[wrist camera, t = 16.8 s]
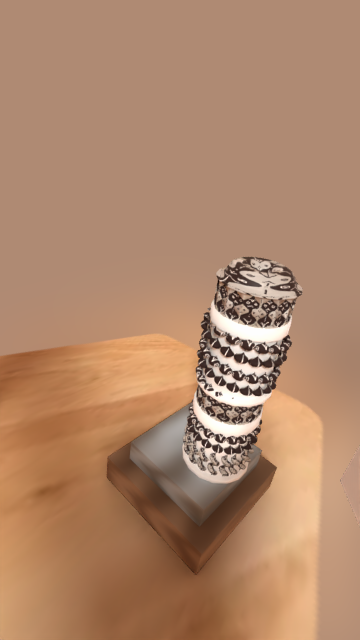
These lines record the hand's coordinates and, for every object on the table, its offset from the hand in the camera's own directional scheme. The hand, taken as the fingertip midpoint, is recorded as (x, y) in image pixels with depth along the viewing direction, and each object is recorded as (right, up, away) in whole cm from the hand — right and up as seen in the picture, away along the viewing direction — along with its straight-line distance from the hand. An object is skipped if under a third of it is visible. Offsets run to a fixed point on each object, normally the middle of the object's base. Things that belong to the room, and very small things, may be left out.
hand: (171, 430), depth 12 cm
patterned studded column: (+5, -13, +31) cm, 34 cm away
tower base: (+2, -18, +35) cm, 40 cm away
